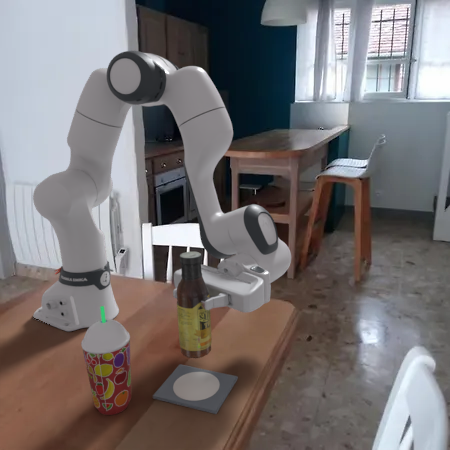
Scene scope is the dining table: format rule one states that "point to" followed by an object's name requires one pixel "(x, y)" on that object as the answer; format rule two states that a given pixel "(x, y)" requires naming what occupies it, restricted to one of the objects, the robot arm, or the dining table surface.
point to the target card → (196, 388)
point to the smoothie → (108, 364)
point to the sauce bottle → (193, 308)
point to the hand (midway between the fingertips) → (189, 300)
